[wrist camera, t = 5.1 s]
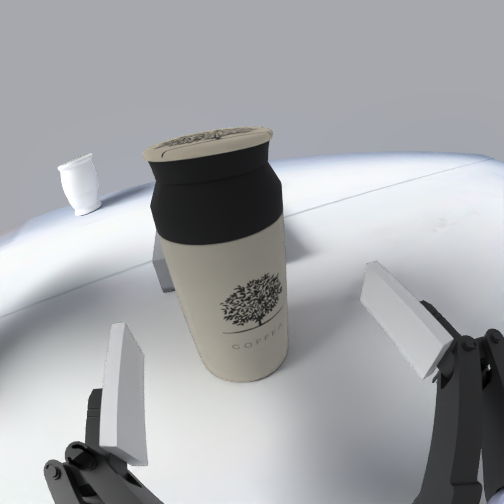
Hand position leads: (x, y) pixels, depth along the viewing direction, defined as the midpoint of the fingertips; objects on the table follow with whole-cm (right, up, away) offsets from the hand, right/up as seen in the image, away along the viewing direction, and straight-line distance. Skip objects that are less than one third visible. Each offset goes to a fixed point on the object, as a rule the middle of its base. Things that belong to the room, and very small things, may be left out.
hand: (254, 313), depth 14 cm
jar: (-46, +15, +52) cm, 71 cm away
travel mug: (-1, -6, +10) cm, 12 cm away
